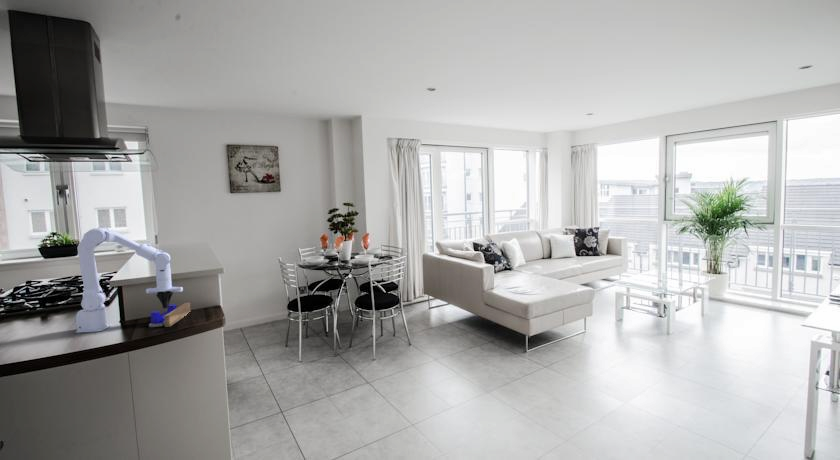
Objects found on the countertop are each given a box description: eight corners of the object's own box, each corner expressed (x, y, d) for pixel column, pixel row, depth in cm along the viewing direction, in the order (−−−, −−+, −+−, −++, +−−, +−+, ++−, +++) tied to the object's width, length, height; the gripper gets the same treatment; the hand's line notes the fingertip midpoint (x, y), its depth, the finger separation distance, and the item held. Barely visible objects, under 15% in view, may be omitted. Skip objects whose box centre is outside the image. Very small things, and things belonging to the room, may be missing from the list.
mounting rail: (149, 327, 167) (148, 322, 166) (169, 314, 185) (169, 310, 184) (166, 326, 168) (166, 321, 168) (185, 313, 186) (184, 309, 186)
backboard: (165, 327, 166) (164, 315, 166) (186, 312, 187) (185, 302, 187) (170, 326, 167) (169, 315, 166) (190, 312, 187) (189, 302, 187)
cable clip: (167, 317, 181) (167, 304, 180) (177, 317, 181) (176, 304, 180) (148, 325, 169) (147, 312, 169) (158, 325, 169) (157, 312, 168)
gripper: (184, 276, 180) (186, 304, 181) (151, 277, 177) (153, 306, 178) (178, 279, 173) (180, 308, 174) (142, 280, 170) (145, 310, 171)
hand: (165, 307), depth 176 cm, fingers closed
